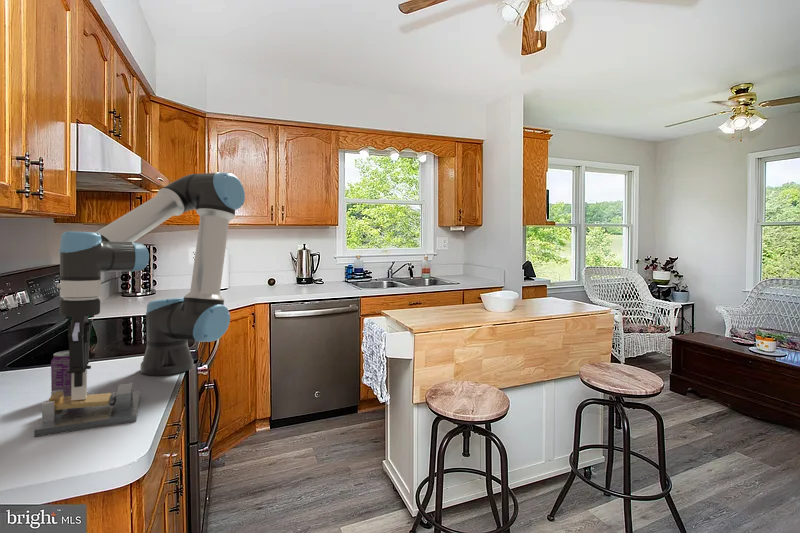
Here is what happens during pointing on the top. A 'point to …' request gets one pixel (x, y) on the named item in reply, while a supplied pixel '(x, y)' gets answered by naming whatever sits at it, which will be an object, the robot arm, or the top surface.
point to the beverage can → (61, 373)
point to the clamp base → (89, 414)
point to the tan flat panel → (83, 401)
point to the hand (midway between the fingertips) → (79, 398)
